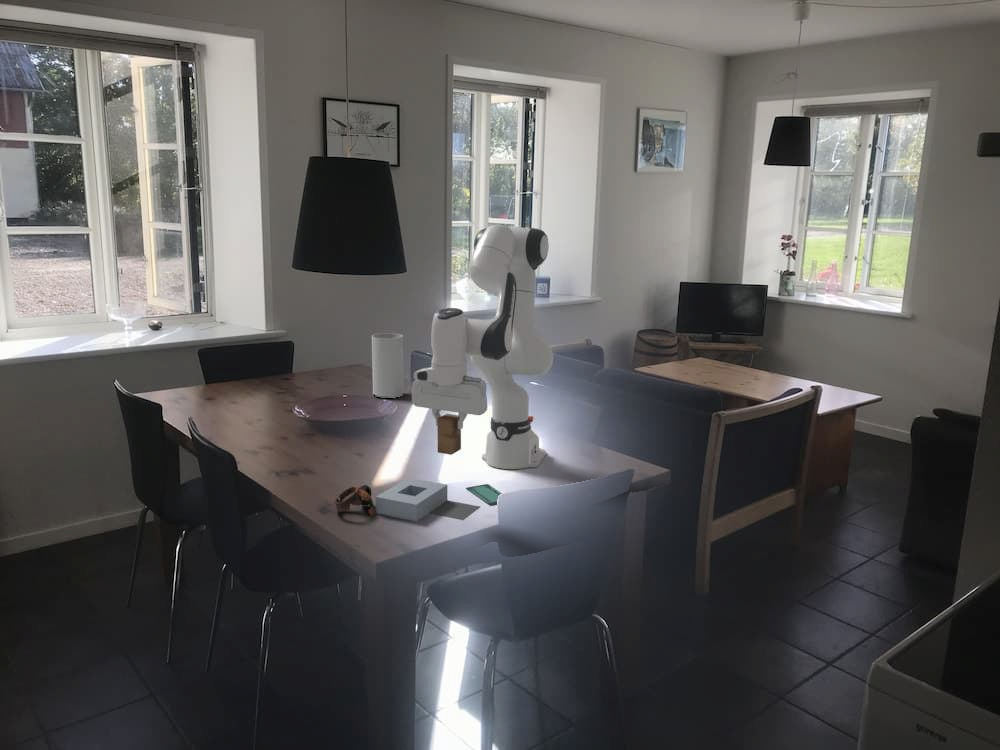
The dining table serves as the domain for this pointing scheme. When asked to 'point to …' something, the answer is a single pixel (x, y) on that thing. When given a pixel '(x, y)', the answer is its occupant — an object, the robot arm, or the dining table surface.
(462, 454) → the dining table surface
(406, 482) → the pocket holder
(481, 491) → the smartphone
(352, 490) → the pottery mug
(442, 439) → the walnut block
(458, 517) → the rubber mat
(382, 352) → the cylinder vase
